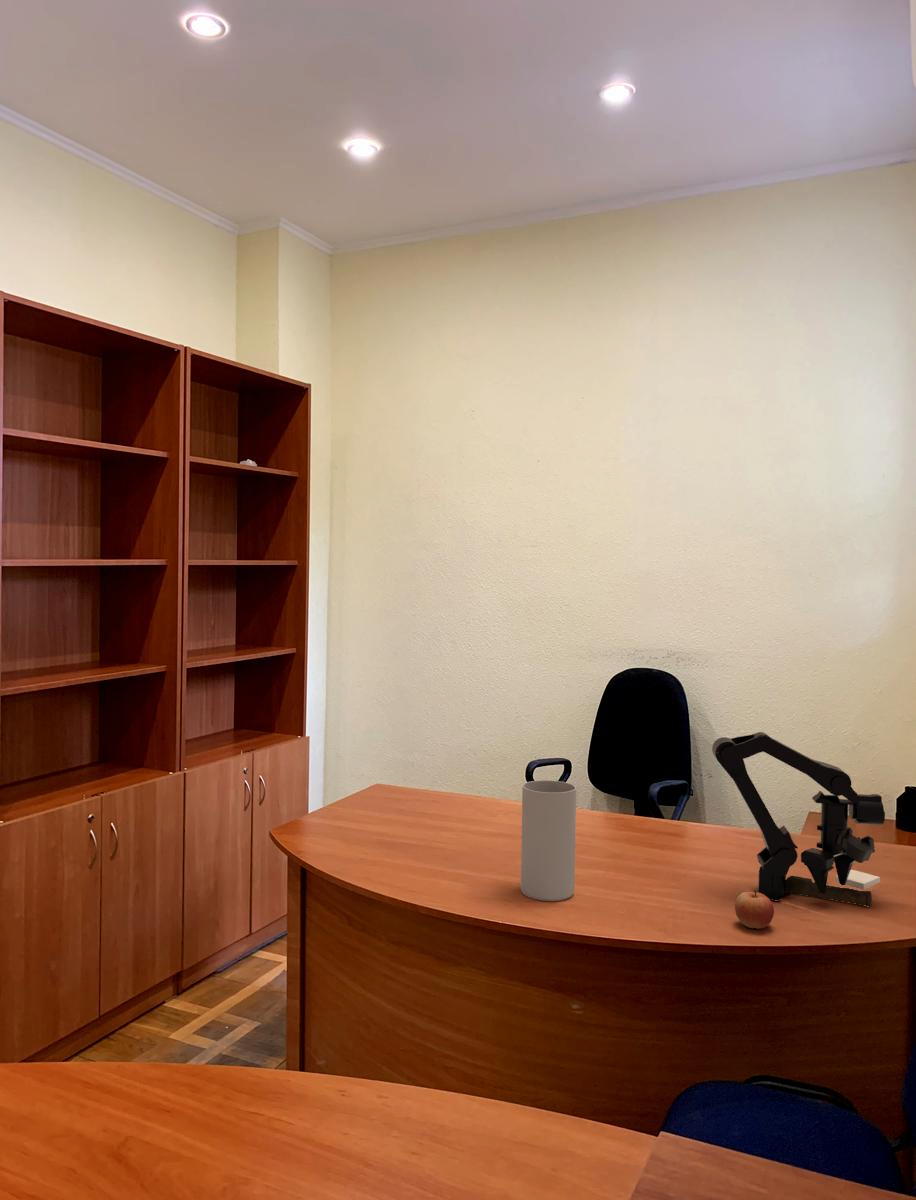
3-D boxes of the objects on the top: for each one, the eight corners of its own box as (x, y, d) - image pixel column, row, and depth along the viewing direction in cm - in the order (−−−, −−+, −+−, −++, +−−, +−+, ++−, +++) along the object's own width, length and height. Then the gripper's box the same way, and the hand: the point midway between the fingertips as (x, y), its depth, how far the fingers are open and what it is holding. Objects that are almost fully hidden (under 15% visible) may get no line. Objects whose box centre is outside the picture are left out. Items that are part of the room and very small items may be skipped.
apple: (746, 916, 199) (747, 880, 199) (780, 927, 193) (781, 890, 193) (726, 925, 193) (727, 888, 193) (760, 936, 188) (761, 898, 187)
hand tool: (872, 906, 207) (872, 886, 207) (870, 912, 203) (870, 891, 203) (786, 890, 217) (786, 871, 216) (782, 895, 213) (782, 875, 213)
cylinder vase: (585, 894, 211) (587, 787, 210) (548, 906, 203) (550, 795, 202) (546, 880, 220) (548, 778, 220) (509, 891, 212) (511, 785, 211)
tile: (863, 883, 214) (880, 877, 219) (835, 875, 220) (852, 869, 225) (863, 891, 214) (879, 884, 219) (835, 883, 220) (851, 876, 225)
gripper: (847, 837, 197) (845, 908, 198) (888, 823, 209) (886, 890, 210) (800, 825, 206) (798, 893, 206) (841, 813, 218) (840, 877, 218)
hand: (832, 888), depth 210 cm, fingers open, 9 cm apart
